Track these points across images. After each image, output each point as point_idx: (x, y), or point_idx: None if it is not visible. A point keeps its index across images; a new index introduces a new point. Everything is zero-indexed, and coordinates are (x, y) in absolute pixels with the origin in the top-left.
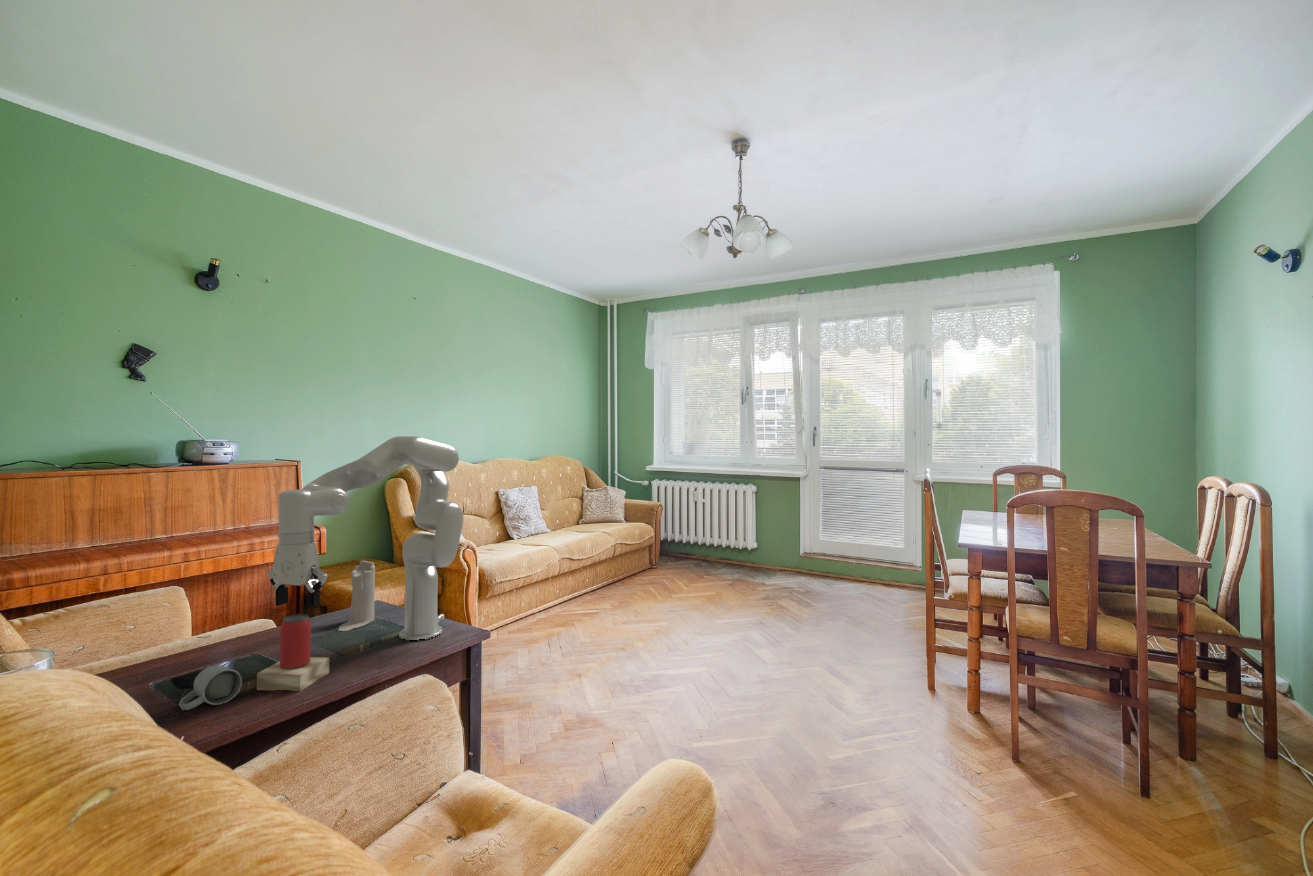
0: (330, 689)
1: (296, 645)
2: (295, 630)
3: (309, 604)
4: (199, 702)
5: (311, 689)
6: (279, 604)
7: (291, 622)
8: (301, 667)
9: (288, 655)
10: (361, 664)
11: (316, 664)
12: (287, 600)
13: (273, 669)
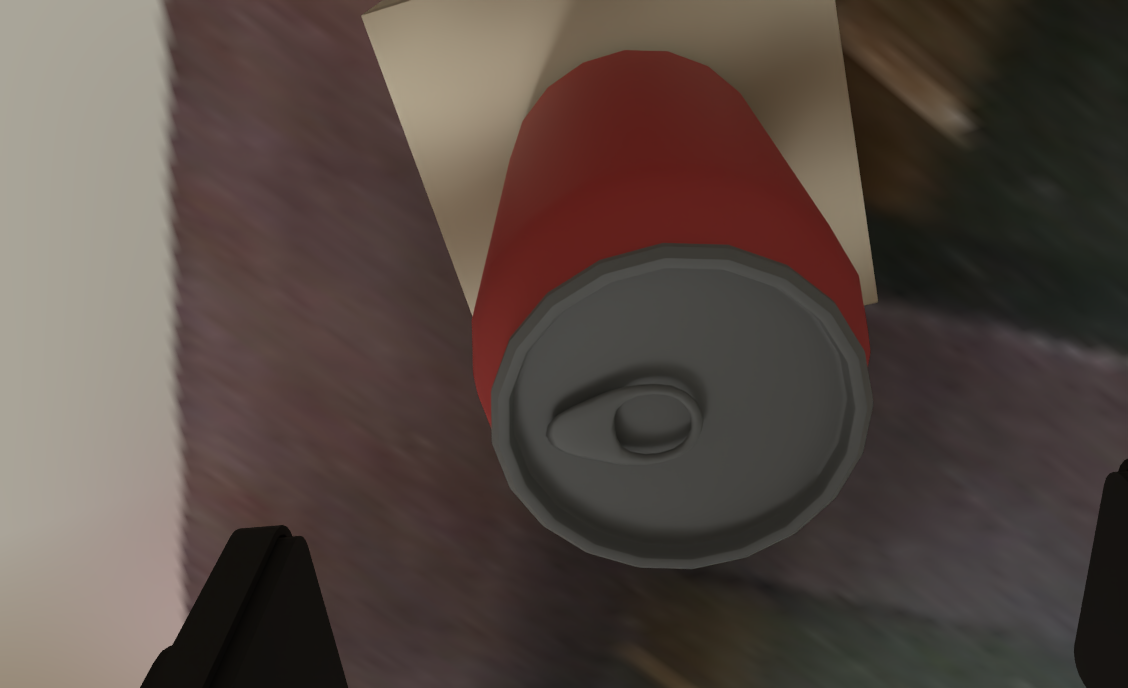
0: (206, 114)
1: (518, 174)
2: (514, 235)
3: (211, 585)
4: None
5: (344, 59)
6: (1114, 499)
7: (588, 272)
8: None
9: (580, 90)
10: (427, 504)
11: (459, 249)
12: (1092, 679)
13: (739, 16)
